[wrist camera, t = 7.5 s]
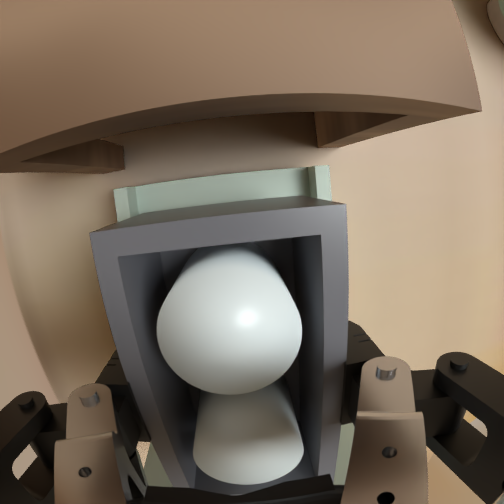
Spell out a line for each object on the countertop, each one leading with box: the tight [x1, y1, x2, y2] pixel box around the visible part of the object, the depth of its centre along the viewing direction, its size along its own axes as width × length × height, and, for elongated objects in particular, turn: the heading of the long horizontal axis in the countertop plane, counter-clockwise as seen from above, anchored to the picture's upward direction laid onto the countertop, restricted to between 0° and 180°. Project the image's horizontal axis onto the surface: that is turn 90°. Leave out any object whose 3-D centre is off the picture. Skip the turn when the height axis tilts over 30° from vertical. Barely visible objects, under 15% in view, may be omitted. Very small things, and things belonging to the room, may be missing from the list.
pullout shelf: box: [114, 165, 355, 487], centre depth 11 cm, size 14×10×9 cm
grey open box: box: [89, 195, 349, 495], centre depth 10 cm, size 10×6×4 cm, turn 5°
